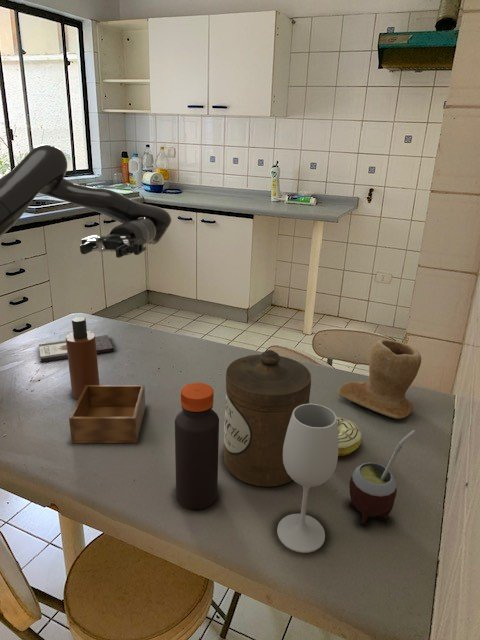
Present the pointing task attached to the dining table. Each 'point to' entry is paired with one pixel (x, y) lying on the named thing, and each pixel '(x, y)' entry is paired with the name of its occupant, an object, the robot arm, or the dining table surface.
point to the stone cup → (386, 380)
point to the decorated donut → (347, 436)
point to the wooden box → (108, 414)
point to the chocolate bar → (60, 349)
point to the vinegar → (196, 447)
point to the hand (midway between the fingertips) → (99, 251)
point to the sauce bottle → (81, 357)
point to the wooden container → (261, 415)
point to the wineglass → (308, 470)
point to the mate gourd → (374, 488)
